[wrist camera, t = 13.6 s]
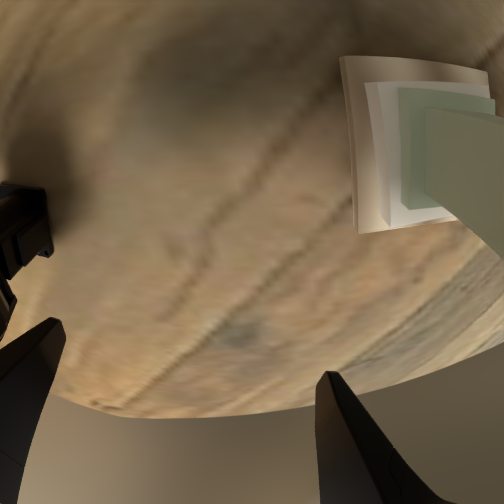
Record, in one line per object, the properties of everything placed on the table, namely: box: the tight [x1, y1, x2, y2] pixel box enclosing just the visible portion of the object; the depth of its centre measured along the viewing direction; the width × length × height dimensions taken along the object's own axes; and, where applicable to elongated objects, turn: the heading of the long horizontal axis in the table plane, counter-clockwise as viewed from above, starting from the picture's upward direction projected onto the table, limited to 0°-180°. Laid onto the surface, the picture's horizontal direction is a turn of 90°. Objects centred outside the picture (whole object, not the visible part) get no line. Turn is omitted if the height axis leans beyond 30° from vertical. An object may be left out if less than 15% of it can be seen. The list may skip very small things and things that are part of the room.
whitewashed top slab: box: [364, 81, 490, 228], centre depth 15 cm, size 9×9×2 cm
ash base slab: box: [339, 56, 489, 234], centre depth 17 cm, size 12×12×2 cm
